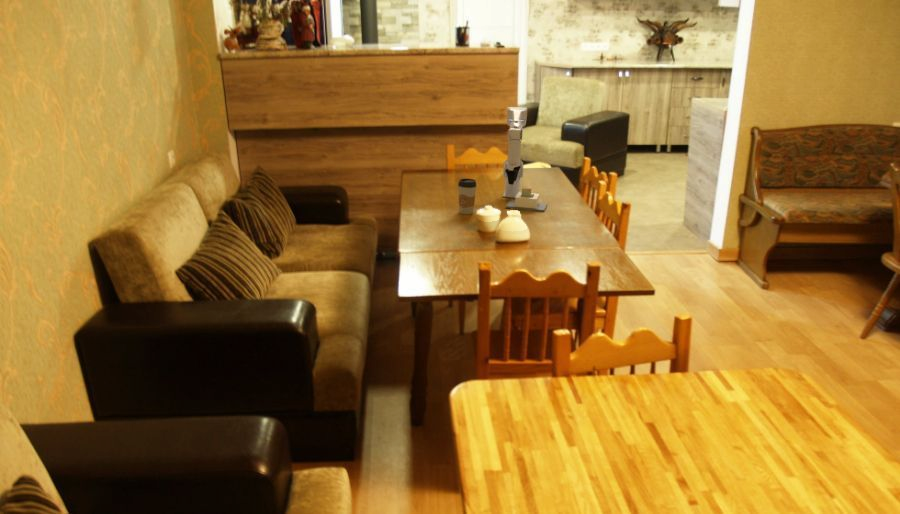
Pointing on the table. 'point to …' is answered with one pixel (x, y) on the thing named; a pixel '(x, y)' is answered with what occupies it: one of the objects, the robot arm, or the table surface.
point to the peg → (526, 192)
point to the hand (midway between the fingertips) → (512, 182)
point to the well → (527, 203)
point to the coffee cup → (466, 195)
